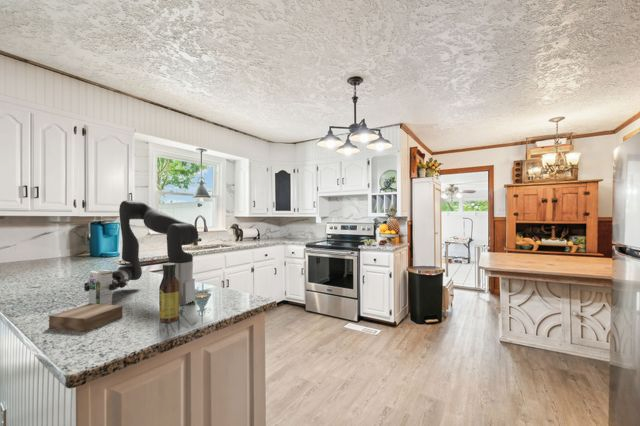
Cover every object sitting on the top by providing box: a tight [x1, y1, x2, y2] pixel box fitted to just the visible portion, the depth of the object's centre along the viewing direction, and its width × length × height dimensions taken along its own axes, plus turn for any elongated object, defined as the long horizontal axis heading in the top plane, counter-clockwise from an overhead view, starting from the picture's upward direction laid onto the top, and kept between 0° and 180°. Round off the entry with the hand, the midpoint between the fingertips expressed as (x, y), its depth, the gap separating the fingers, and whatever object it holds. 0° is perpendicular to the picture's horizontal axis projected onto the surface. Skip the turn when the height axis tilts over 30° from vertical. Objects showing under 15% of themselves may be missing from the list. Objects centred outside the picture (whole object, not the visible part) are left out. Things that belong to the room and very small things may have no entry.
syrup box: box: [88, 269, 113, 305], centre depth 119 cm, size 6×6×14 cm
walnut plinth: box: [48, 303, 123, 332], centre depth 102 cm, size 14×14×4 cm
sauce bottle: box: [158, 262, 180, 323], centre depth 104 cm, size 6×6×20 cm
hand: (98, 288), depth 117 cm, fingers closed on syrup box, 7 cm apart
